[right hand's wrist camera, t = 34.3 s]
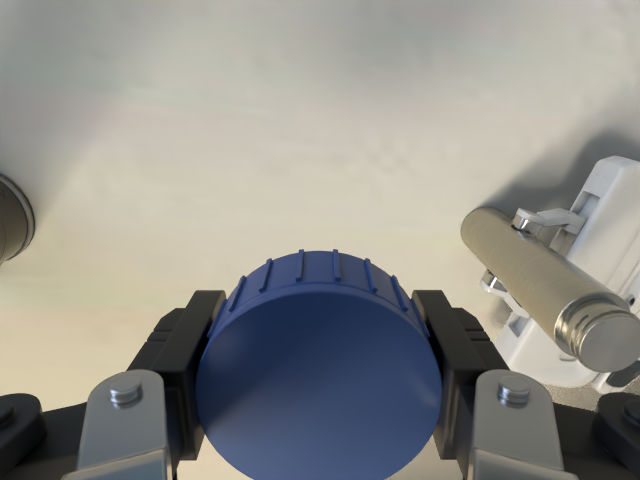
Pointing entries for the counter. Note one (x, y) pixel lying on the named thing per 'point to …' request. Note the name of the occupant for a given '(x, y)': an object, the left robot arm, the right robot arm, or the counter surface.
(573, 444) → the right robot arm
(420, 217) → the counter surface
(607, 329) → the metal cylinder
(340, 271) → the lid
